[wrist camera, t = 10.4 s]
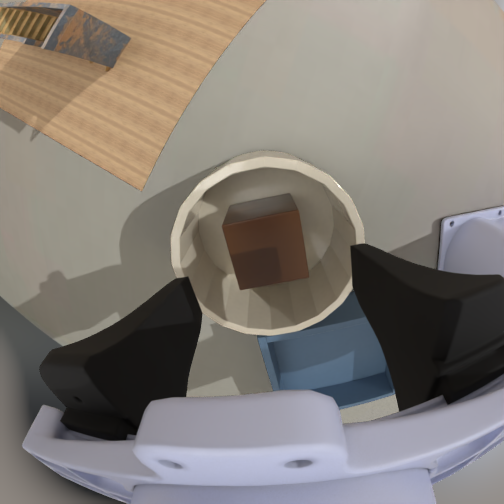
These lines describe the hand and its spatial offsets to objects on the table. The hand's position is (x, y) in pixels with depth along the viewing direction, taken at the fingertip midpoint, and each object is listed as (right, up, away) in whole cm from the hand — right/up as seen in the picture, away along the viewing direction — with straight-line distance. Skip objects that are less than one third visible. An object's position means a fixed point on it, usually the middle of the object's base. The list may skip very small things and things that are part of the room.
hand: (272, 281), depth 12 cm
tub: (+7, -8, +12) cm, 16 cm away
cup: (0, +3, +7) cm, 8 cm away
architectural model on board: (-15, +18, +1) cm, 23 cm away
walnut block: (0, +3, +6) cm, 7 cm away
